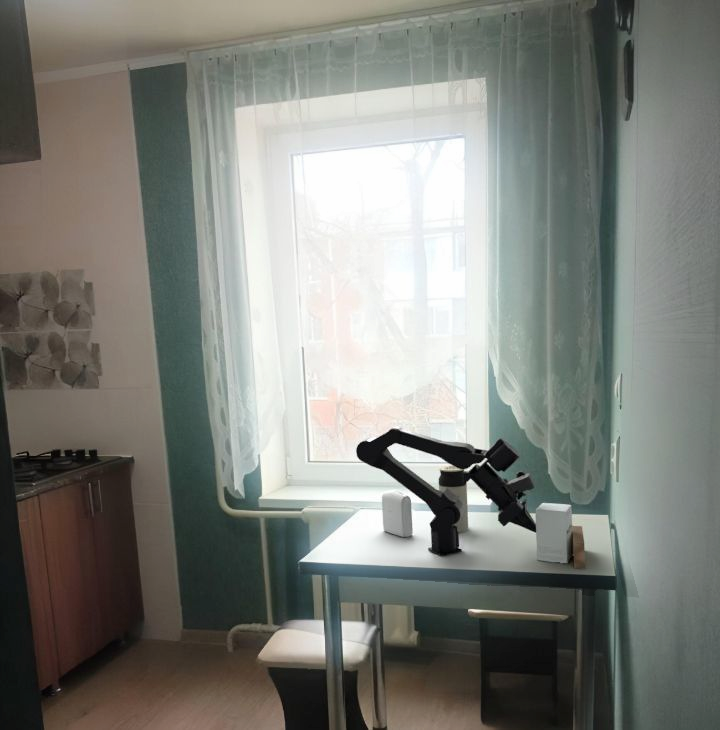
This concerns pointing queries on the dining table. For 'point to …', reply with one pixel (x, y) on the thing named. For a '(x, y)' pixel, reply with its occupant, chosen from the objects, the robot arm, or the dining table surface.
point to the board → (578, 547)
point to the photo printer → (397, 513)
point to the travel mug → (455, 490)
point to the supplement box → (554, 532)
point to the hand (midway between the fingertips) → (537, 531)
